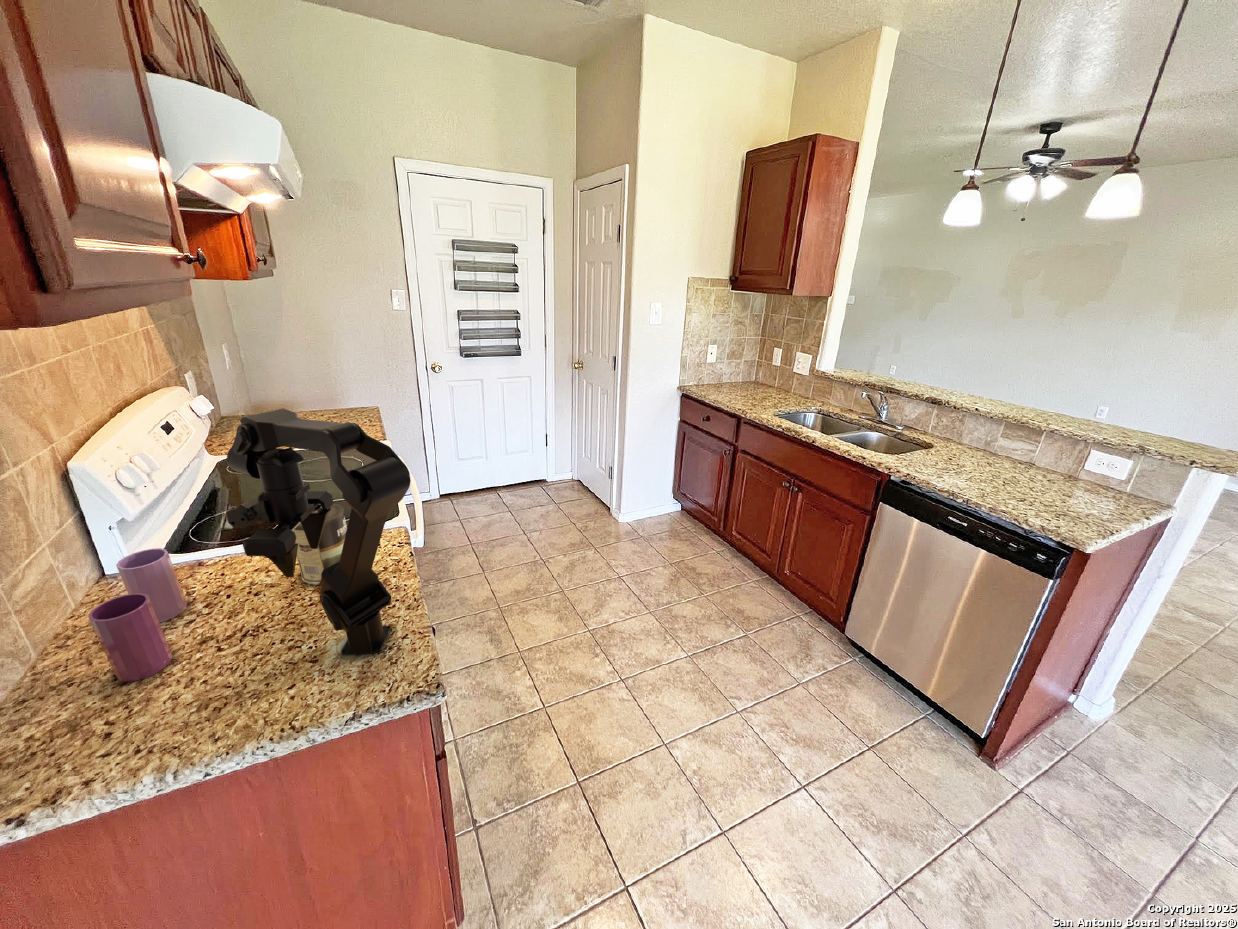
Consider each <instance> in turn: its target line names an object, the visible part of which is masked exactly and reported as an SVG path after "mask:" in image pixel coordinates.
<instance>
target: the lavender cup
mask: <svg viewBox="0 0 1238 929" xmlns="http://www.w3.org/2000/svg"><path fill="white" fill-rule="evenodd" d="M115 566H116V569H117V571H118V573H119V576H120V578H121V580H122V583H123V586H124V587H125V590H126V593H127V594H132V593H144V594H147V595H148V596H149V599H150V601H151V604H152V606H153V609H154V611H155V613H156V616H157V618H158V621H159V623H160V624H161V623H164V622H166V621H170V620H171V619H173V618H175V617H177V616H179V615H181V614H182V613H183V612H184V611H185V610H187V607H188V603H187V600H186V597H185V595H184V592H183V588H182V586H181V584H180V581H179V578H178V576H177V573H176V570H175V568H174V565H173V562H172V560H171V556H170V555H169V551H168V550H167V549H165V548H161V547H160V548H156V547H155V548H148V549H143V550H140V551H137V552H133V553H131V554H129V555H126V556H124V557H122V558H121V559H119V560H118V561H117V563H116V564H115Z"/></svg>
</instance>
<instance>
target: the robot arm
mask: <svg viewBox="0 0 1238 929" xmlns="http://www.w3.org/2000/svg"><path fill="white" fill-rule="evenodd" d="M239 422H240V424H239V425H237V428H236V431H235V432H236V433H235V437H234V438H233V440H234V441H233V442H232V445H231V447H230V448H229V450H228V452H227V455H226V459H225V460H226V464H227V465H228V467H229V468H230V469H231V470H233V471H234V472H237V473H239V474H242V475H246V476H248V477H251V478H253V479H257V480H260V482H261V486H262V489H263V492H262V493H260V494H259V495H258V496H257V497H254V498H252V499H249V500H247V501H246V500H245V502H243V503H241V504H238V505H237V506H236V507H235V506H232V507H231V508H229V509H228V510H227V511H226V512H225V513H226V519H227V524H229V525H230V526H231V527H232V528H234V529H238V528H240V529H245V528H247V527H248V526H250V525H254V524H256V523H259V522H261V524H262V525H271V524H274V525H276V526H275V527H274V528H273V527H271V528H270V527H269V528H258V529H257V530H256V531H255V532H253V534H251V535H250V536H249V537H248V538H247V539H246V540H245V541H244V542H243V543H242V548H243V551H244V554H245V556H246V557H265V558H267V559H268V560H270V561H271V563H273V565H274V566H276V568H277V569H278V570H279V572H281V573H282V575H284V577H286V578H293V577H294V576H295V571H296V564H297V550H298V543H295V542H296V535H295V532H293V530H294V529H295V528H296V527H297V526H298V525H299V524H300V523H301V524H302V527H303V530H304V532H305V535H306V538H307V540H308V543H309V545H310V547H311V549H317V548H318V546H319V543H320V540H321V536H322V533H323V530H324V527H325V524H326V521H327V518H328V515H329V513H330V511H331V508H330V507H331V506H332V505H333V504H335V503H334V498H333V494H331V493H329V491H327V490H310V489H311V486H310V483H309V482H304V479H303V476H302V471H301V466H300V463H301V462H303V461H304V456H303V455H302V454H301V453H299V452H297V451H295V450H294V449H300V450H307V451H311V452H312V451H314V452H320V453H323V454H324V455H325V456H326V457H327V458H328V460H329V471H330V479H331V482H333V484H334V485H335V486H336V487H337V488H338V490H339V491H340V492H341V493H342V498H343V500H344V501H345V502H346V503H347V505H348V506H350V508H351V509H350V515H349V519H348V522H347V523H348V524H347V531H346V535H345V540H344V544H343V548H342V553H341V557H340V561H339V562H337V563H335V564H333V565H331V566H329V567H327V568H325V569H324V570H323V571H322V573H321V581H320V583H319V584H318V585H317V586H318V587H320V590H319V596H318V597H319V603H320V605H321V607H322V609H323V612H324V613H325V615H326V618H327V620H328V622H329V623H330V624H332V625H333V630H334V631H345V635H346V638H347V639H346V642H345V643H344V646H343V647H342V648H341V651H340V654H341V655H342V656H349V655H350V656H351V655H352V656H353V655H368V654H379V653H381V652H382V650H383V647H384V645H385V644H386V641H387V639H388V637H389V635H390V633H391V631H392V626H391V625H384V624H383V621H382V615H381V610H383V609H384V608H385V607H388V606H389V605H391V604H392V597H393V596H392V595H391V593H390V592H389V591H388V590H387V588H386V587H385V586H384V584H383V583H382V582H381V580H380V578H379V575H378V574H377V573H376V571H375V570H373V566H374V562H375V558H376V555H377V552H378V548H379V545H380V542H381V538H382V535H383V531H384V529H385V525H386V521H387V517H388V515H389V513H390V512H391V511H392V510H393V509H394V508H395V507H396V506H397V505H398V504H399V503H400V502H401V501H403V499H404V498H405V496H406V494H407V492H408V491H409V489H410V486H411V480H412V479H411V473H410V470H409V468H408V467H407V465H406V464H405V462H404V461H403V460H402V459H401V458H400V457H399V455H397V453H396V452H395V451H394V450H393V449H392V447H390V446H389V445H388V444H386V443H384V442H382V441H379V440H378V439H375V438H374V437H372V436H369V435H368V434H367V433H366V432H365V431H364V430H363V428H362V427H361V426H360V425H359V424H358V423H356V422H349V421H347V422H335V421H325V420H315V419H305V418H299V415H298V413H297V412H295V411H292V410H289V409H286V408H278V409H273V410H268V411H264V412H259V413H256V414H255V413H254V414H251V415H246V416H241V417H240V419H239ZM285 447H286V448H285ZM352 450H356V452H358V453H360V454H362V455H365V456H366V457H369V458H370V459H372V460H373V461H371V462H369V463H367V464H364V465H361V466H358V467H356V468H353V469H350V470H348V469H347V468H346V467H345V466H344V464H343V462H342V454H343V453H347V452H349V451H352ZM374 460H375V461H374ZM299 462H300V463H299Z"/></svg>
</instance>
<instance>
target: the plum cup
mask: <svg viewBox="0 0 1238 929" xmlns="http://www.w3.org/2000/svg"><path fill="white" fill-rule="evenodd" d="M87 617H88V620H89V622H90V625H91V627H92V629H93V631H94V633H95V635H96V637H97V639H98V642H99V644H100V646H101V648H102V650H103V652H104V655H105V656H106V658H107V661H108V662H109V665H110V667H111V669H112V671H113V673H114V675H115V676H116V678H117V680H118V681H120V682H125V683H128V682H135V681H136V682H137V681H140V680H143V679H146V678H148V677H151V676H153V675H155V674H157V673H159V672H160V671H162V670H163V669H164V668H166V667H167V666H168V665H169V664H170V662H171V661H172V660H173V653H172V650H171V648H170V646H169V643H168V640H167V639H166V636H165V633H164V630H163V628H162V626H161V622H160V623H159V621H158V618H157V616H156V613H155V611H154V609H153V606H152V604H151V601H150V599H149V596H148V595H147V594H144V593H132V594H128V593H126V594H123V595H120V596H119V595H118V596H117V597H113V598H110V599H109V600H106V601H104V602H102V603H99V604H98V605H97V606H95V607H94V608H92V610H91V611H90V612H89V613H88V616H87Z"/></svg>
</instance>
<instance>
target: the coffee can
mask: <svg viewBox="0 0 1238 929" xmlns="http://www.w3.org/2000/svg"><path fill="white" fill-rule="evenodd" d="M330 508H331V511H330V513H329V515H328V518H327V521H326V524H325V527H324V530H323V533H322V536H321V540H320V543H319V546H318V548H317V549H311V547H310V545H309V543H308V540H307V538H306V535H305V532H304V530H303V527H302V524H301V523H300V524H299V525H298V526H297V527H296V528H295V529H294V530H293V532H295V535H296V542H295V543H298V550H297V557H296V561H297V564H298V567H299V571H300V575H301V580H302V581H303V582H304V583H306V584H308V585H315V586H316V585H317V586H319V585H318V584H319V583H320V581H321V573H322V571H323V570H324V569H325V568H327V567H329V566H331V565H333V564H335V563H337V562H339V561H340V557H341V553H342V548H343V544H344V540H345V535H346V531H347V527H348V525H347V522H346V517H345V509H344V507H343V505H341V504H338V503H334V504H333V505H332V506H331V507H330Z"/></svg>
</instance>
